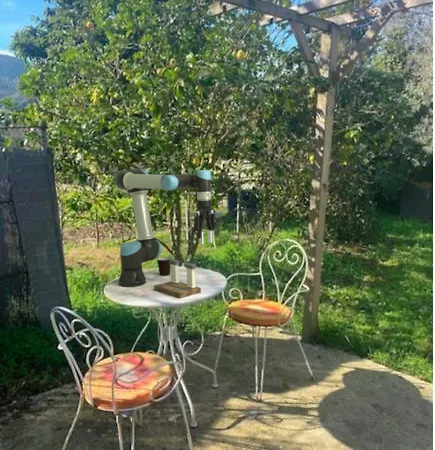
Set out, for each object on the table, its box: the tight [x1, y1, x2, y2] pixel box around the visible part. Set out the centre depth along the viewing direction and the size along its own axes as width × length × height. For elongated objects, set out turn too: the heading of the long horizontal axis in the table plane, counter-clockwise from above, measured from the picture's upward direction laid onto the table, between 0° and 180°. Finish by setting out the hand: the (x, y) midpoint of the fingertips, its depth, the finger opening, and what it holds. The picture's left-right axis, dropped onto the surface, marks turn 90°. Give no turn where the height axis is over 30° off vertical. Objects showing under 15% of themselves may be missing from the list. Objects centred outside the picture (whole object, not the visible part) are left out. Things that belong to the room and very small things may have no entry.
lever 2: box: [184, 262, 197, 288], centre depth 231 cm, size 3×6×12 cm, turn 43°
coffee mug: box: [156, 256, 172, 277], centre depth 271 cm, size 12×9×10 cm
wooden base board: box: [153, 281, 202, 299], centre depth 234 cm, size 14×22×3 cm, turn 43°
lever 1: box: [169, 258, 181, 283], centre depth 241 cm, size 3×6×12 cm, turn 43°
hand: (205, 243), depth 235 cm, fingers open, 5 cm apart
